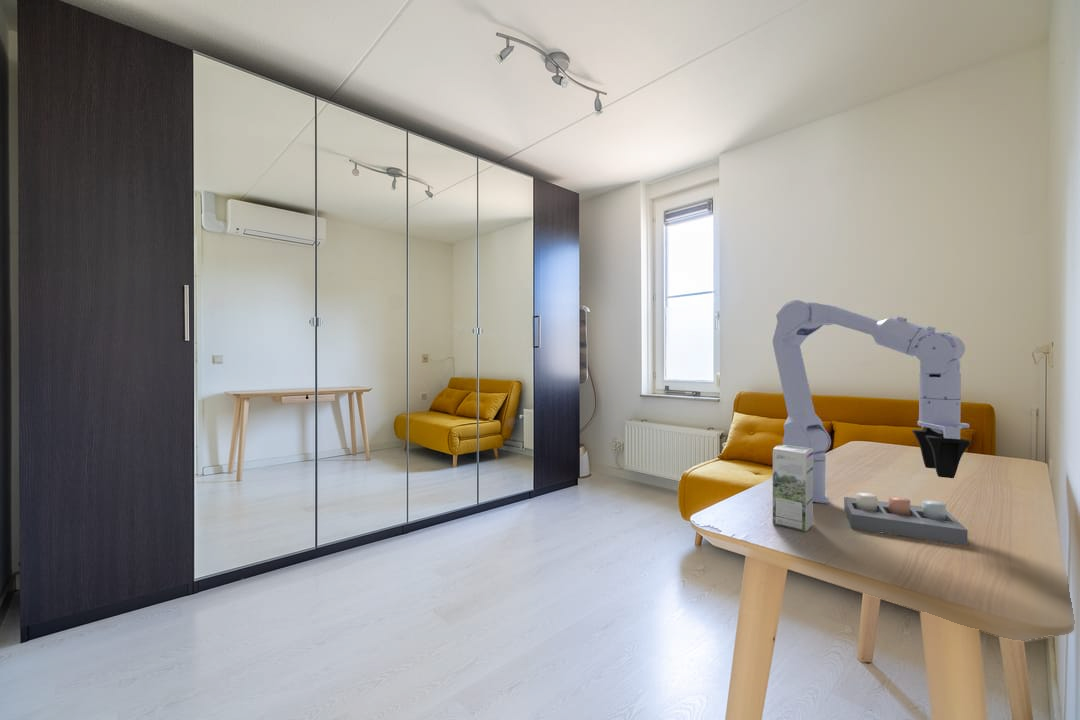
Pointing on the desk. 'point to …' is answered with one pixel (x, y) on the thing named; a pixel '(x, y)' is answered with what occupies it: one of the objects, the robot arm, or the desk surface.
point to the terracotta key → (899, 506)
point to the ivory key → (866, 502)
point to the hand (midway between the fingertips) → (938, 472)
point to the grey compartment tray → (905, 523)
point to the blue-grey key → (933, 510)
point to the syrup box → (793, 487)
